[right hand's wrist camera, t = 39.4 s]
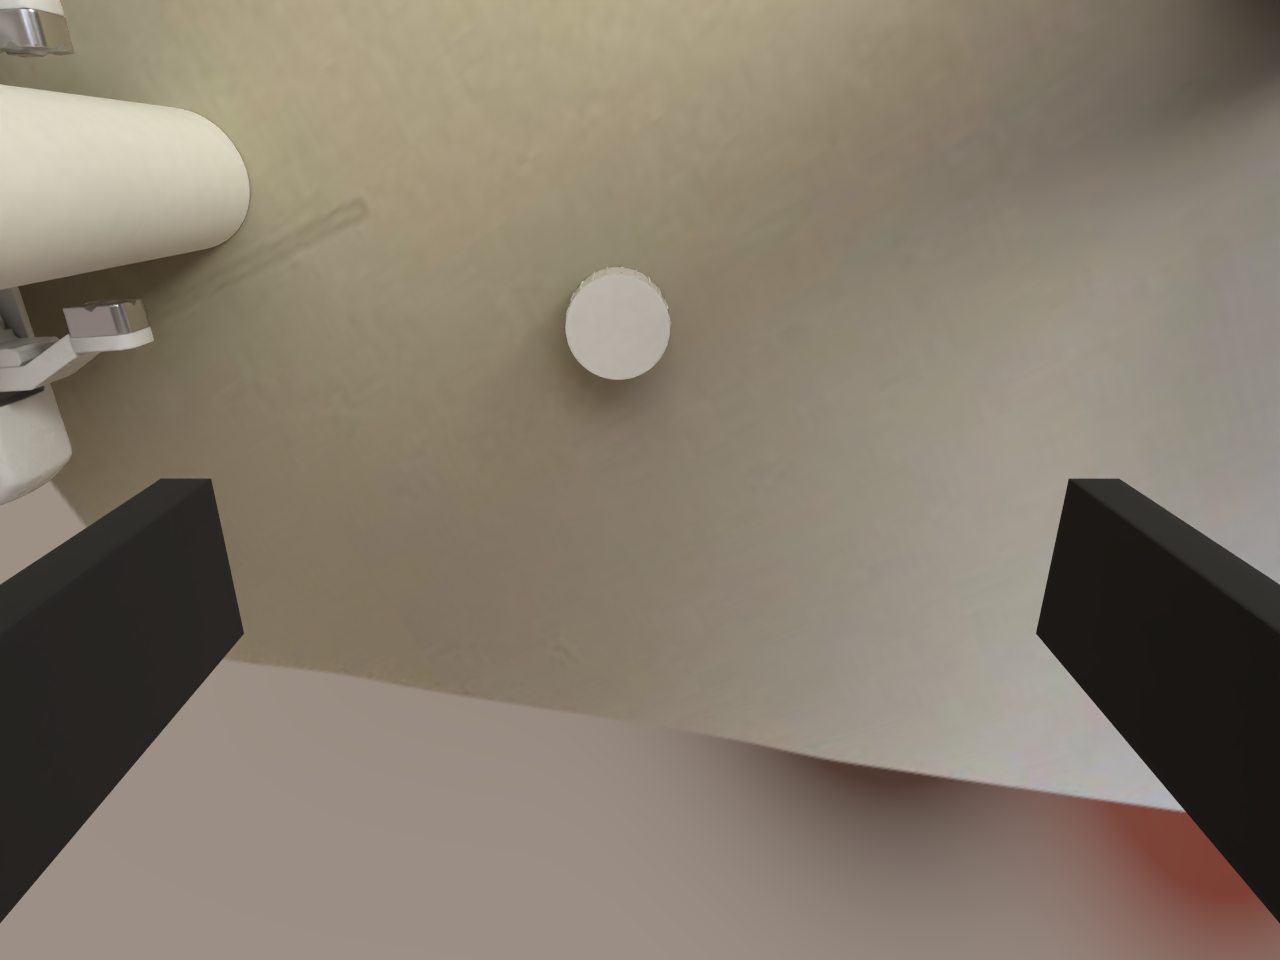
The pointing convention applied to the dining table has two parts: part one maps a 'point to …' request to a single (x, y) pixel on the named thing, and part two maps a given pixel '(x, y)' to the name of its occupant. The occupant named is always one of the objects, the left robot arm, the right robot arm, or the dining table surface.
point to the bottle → (109, 184)
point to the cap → (617, 323)
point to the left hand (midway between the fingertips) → (100, 182)
